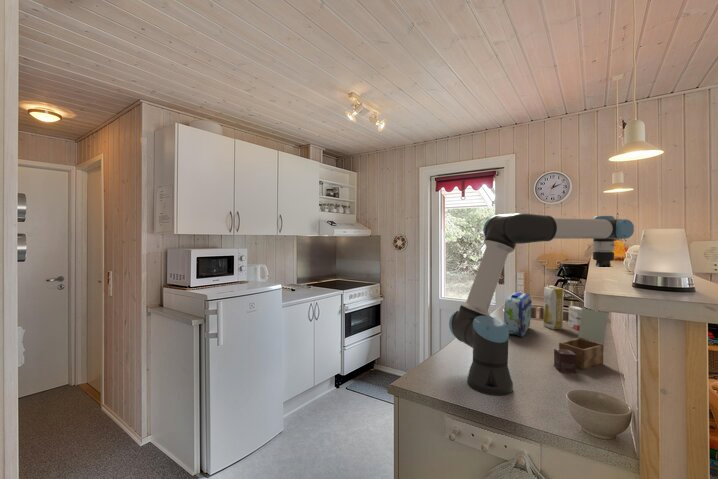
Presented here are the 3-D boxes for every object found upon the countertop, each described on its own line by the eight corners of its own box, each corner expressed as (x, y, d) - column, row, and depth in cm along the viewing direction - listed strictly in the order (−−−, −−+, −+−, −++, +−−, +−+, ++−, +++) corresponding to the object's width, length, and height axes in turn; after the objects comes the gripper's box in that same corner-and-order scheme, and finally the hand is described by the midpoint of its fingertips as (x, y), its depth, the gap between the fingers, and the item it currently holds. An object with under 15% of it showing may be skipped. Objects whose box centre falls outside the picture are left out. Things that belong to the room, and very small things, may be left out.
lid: (607, 311, 140) (608, 311, 140) (582, 306, 148) (583, 306, 149) (603, 343, 139) (604, 344, 139) (578, 337, 148) (579, 337, 148)
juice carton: (541, 325, 196) (542, 284, 195) (553, 325, 197) (554, 284, 196) (552, 330, 186) (553, 287, 186) (565, 329, 187) (566, 287, 187)
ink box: (586, 330, 186) (586, 309, 186) (577, 330, 186) (577, 309, 186) (576, 326, 195) (576, 305, 194) (567, 326, 195) (568, 305, 194)
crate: (583, 370, 132) (584, 350, 132) (558, 361, 141) (559, 342, 141) (603, 363, 139) (603, 344, 139) (577, 355, 148) (578, 337, 148)
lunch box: (524, 339, 170) (525, 298, 169) (501, 335, 176) (502, 296, 175) (532, 327, 191) (533, 291, 190) (512, 324, 197) (513, 289, 197)
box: (576, 373, 130) (576, 354, 129) (559, 372, 131) (559, 353, 131) (569, 367, 136) (570, 349, 135) (553, 365, 137) (553, 348, 137)
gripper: (604, 252, 140) (603, 308, 140) (621, 251, 146) (619, 305, 146) (585, 251, 146) (584, 304, 147) (602, 250, 152) (601, 301, 153)
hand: (602, 304), depth 147 cm, fingers closed
